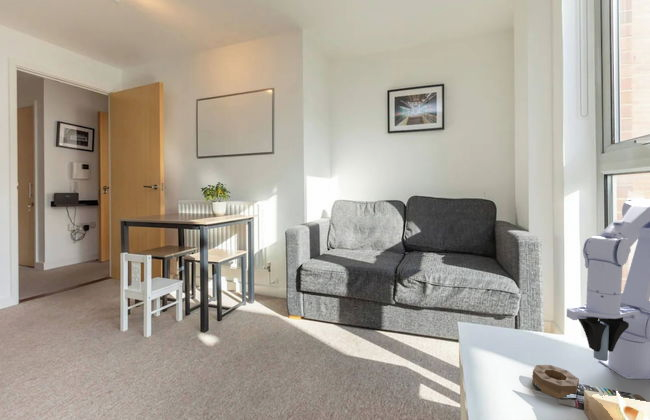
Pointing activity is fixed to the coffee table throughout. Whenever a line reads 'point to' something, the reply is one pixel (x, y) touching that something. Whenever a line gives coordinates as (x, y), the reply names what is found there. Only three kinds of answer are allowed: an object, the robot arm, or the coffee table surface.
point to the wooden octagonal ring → (555, 380)
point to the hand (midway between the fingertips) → (600, 349)
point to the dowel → (603, 345)
